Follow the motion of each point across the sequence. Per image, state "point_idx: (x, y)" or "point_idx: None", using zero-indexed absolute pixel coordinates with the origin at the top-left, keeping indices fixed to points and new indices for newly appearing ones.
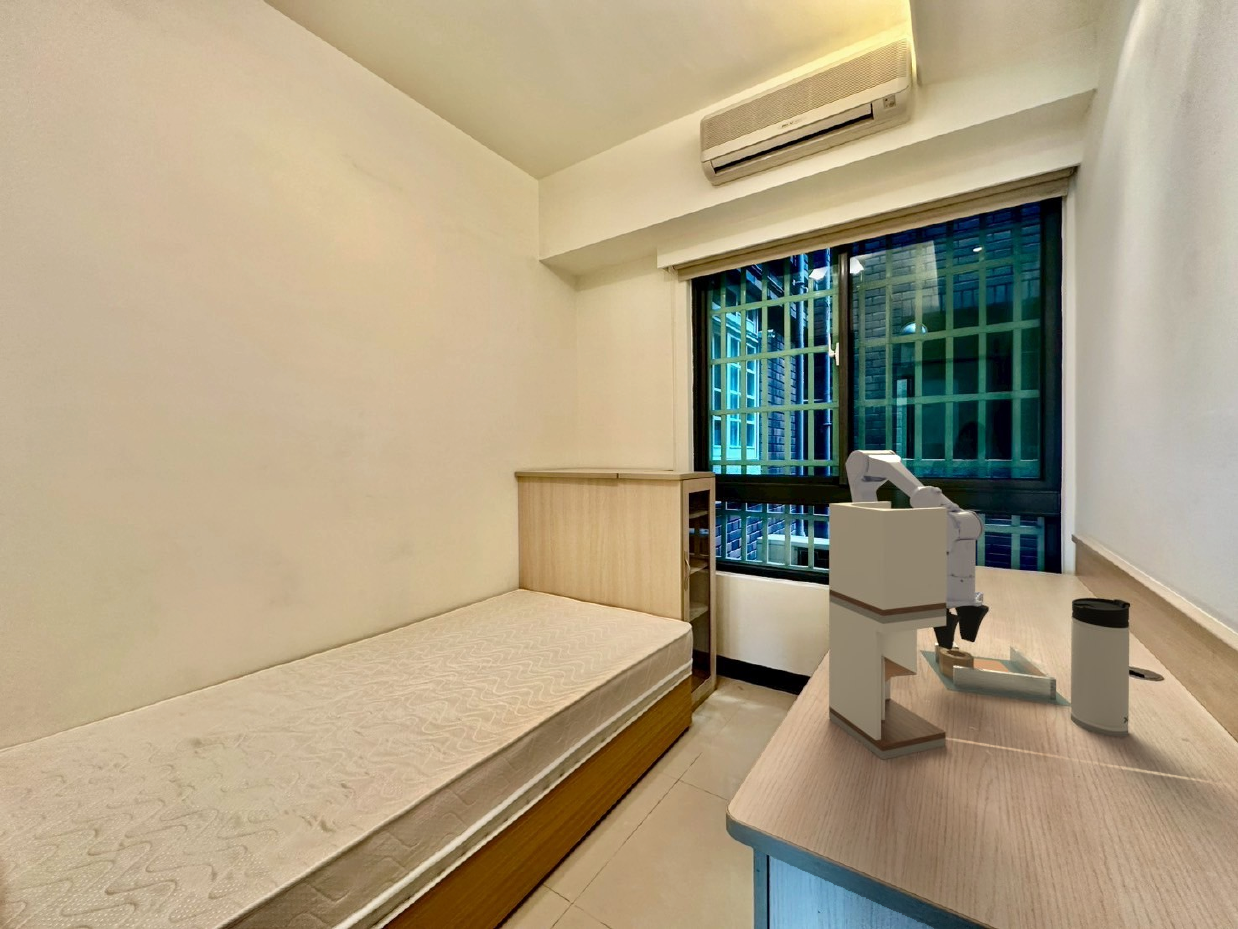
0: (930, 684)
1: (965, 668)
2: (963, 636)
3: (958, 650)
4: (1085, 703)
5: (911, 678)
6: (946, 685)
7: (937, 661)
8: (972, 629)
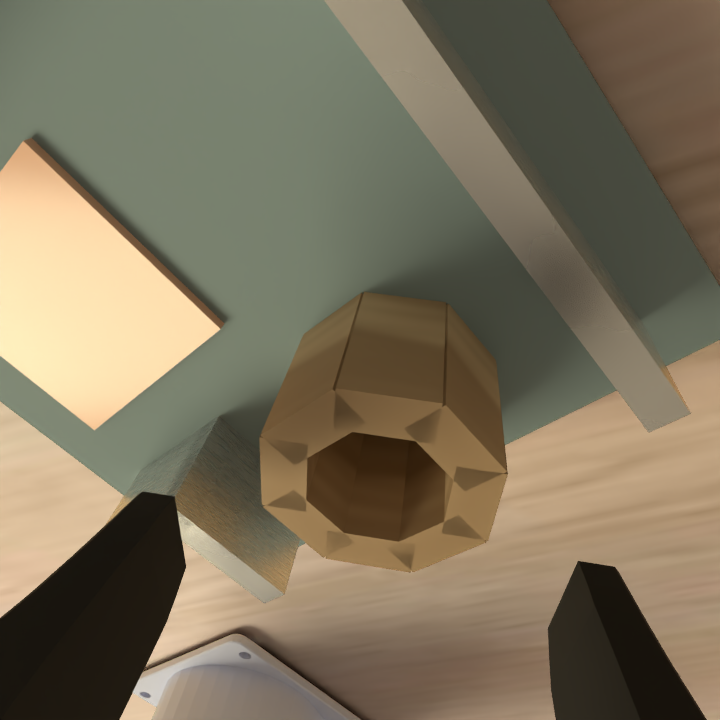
0: (696, 418)
1: (638, 354)
2: (171, 583)
3: (288, 496)
4: None
5: (684, 502)
6: (671, 356)
7: None
8: (94, 630)
